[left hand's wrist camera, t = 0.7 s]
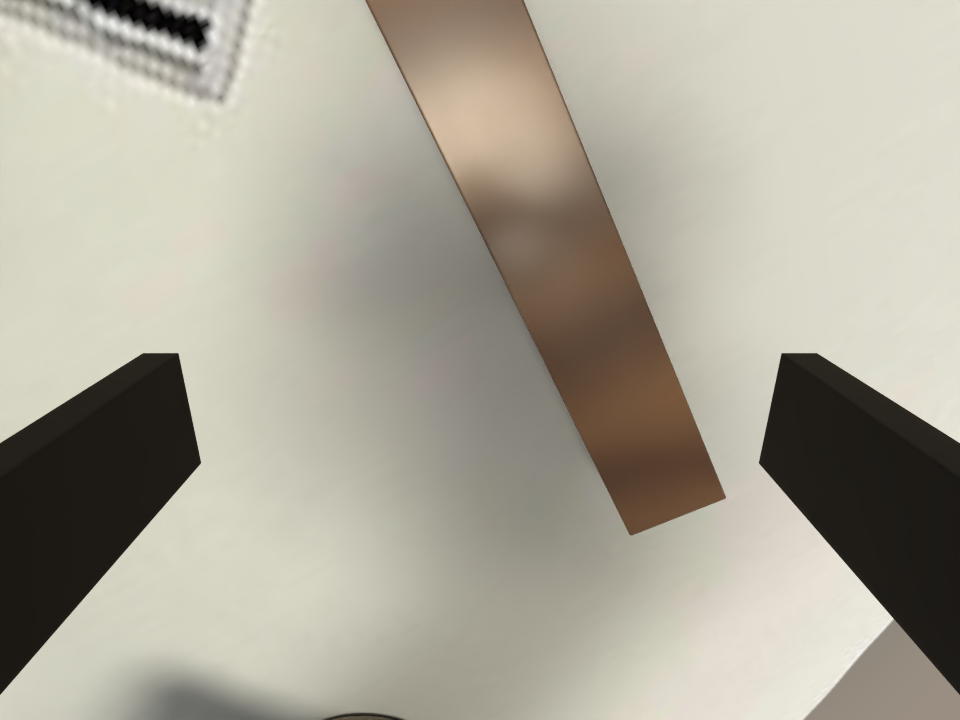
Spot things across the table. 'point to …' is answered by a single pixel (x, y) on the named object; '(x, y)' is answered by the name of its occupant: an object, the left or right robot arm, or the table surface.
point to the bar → (553, 244)
